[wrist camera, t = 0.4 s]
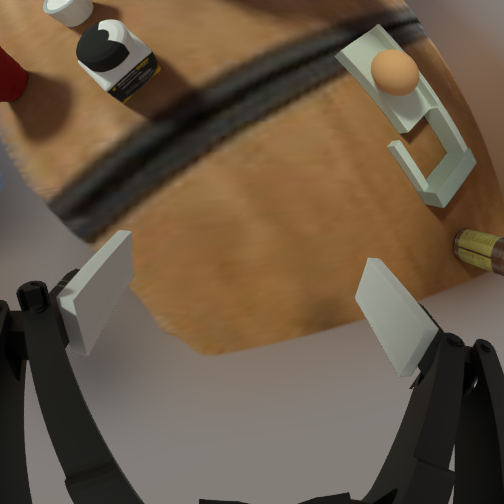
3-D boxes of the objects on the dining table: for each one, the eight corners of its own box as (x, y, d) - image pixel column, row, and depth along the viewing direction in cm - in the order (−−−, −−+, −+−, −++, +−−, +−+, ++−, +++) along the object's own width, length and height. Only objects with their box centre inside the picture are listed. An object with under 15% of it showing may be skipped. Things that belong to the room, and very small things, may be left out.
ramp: (319, 67, 34) (332, 56, 30) (365, 34, 33) (380, 22, 28) (424, 204, 42) (444, 208, 37) (457, 161, 40) (476, 162, 36)
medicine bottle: (123, 105, 33) (89, 80, 21) (96, 76, 31) (59, 48, 19) (162, 69, 32) (143, 32, 21) (133, 43, 30) (108, 3, 19)
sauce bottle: (468, 257, 46) (541, 290, 27) (449, 260, 45) (527, 297, 26) (472, 225, 44) (549, 250, 25) (453, 225, 43) (536, 253, 24)
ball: (362, 52, 32) (385, 35, 25) (400, 66, 33) (427, 54, 26) (361, 92, 34) (387, 80, 27) (401, 105, 35) (430, 97, 28)
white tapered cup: (105, 4, 27) (91, -17, 20) (76, 35, 28) (57, 17, 21) (81, -5, 25) (66, -24, 19) (53, 24, 26) (35, 8, 20)
